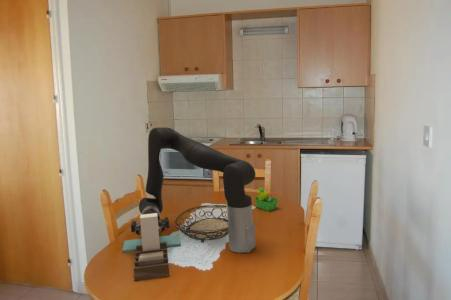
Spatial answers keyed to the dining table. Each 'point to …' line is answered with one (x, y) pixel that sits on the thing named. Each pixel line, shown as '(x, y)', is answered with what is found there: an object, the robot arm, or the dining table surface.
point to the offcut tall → (150, 261)
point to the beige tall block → (149, 231)
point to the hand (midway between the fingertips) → (150, 231)
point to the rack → (151, 270)
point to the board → (170, 240)
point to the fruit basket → (265, 200)
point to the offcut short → (151, 253)
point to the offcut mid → (151, 255)
